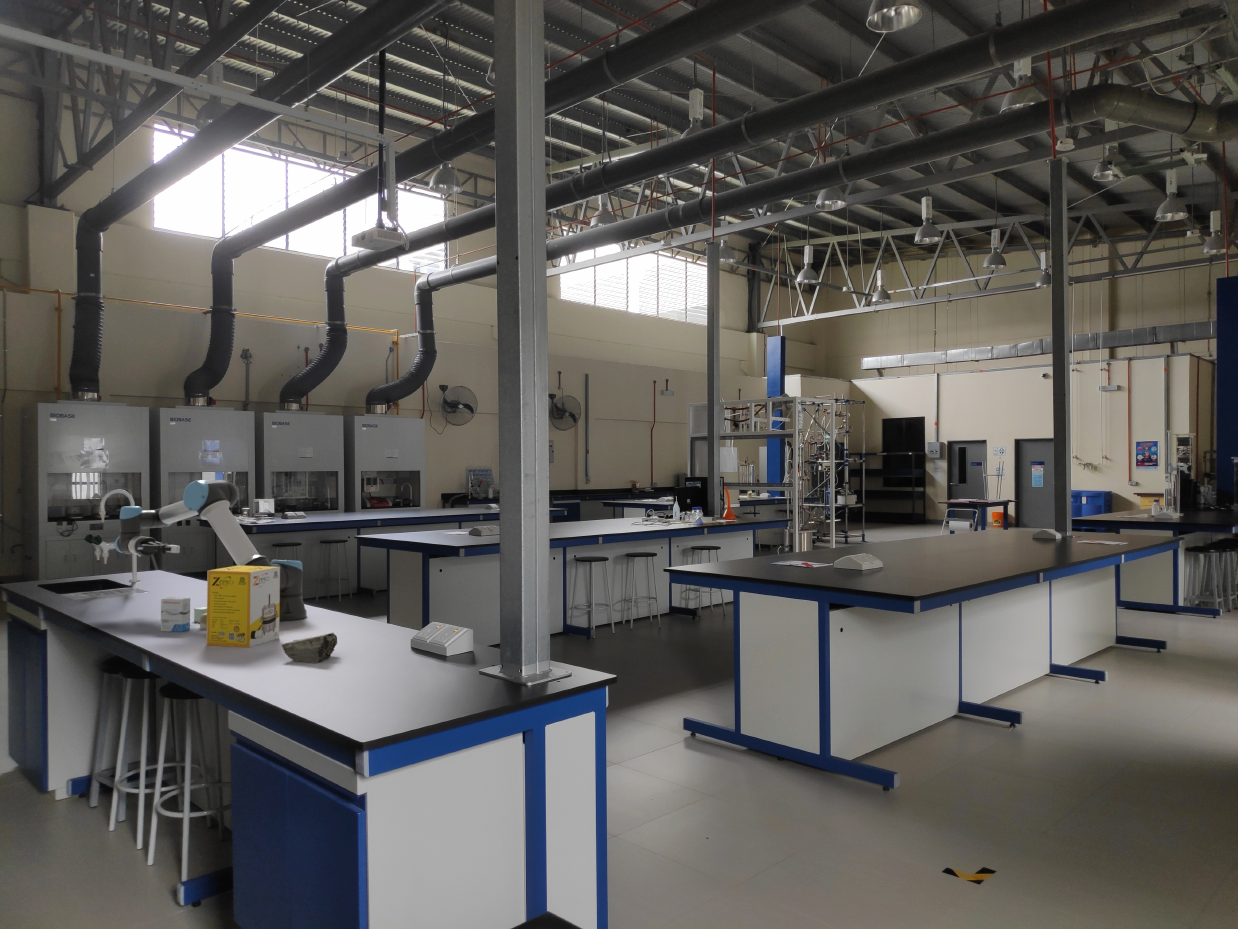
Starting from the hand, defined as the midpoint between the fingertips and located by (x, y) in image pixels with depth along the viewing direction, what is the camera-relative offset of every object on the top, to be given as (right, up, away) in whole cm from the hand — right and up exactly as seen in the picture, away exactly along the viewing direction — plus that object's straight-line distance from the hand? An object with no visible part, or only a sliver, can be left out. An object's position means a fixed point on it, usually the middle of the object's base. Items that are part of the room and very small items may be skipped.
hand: (177, 549), depth 312 cm
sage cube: (+8, -28, +3) cm, 30 cm away
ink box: (+8, -28, -16) cm, 33 cm away
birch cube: (+17, -28, -10) cm, 34 cm away
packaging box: (+41, -28, -34) cm, 61 cm away
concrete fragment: (+74, -28, -58) cm, 99 cm away
